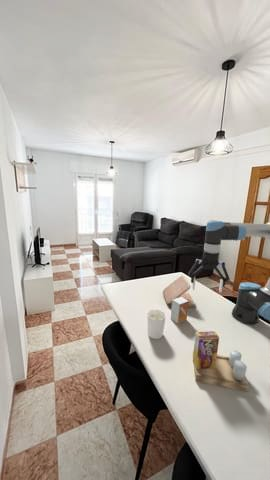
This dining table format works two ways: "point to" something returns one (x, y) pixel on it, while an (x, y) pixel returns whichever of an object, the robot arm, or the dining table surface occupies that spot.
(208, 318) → the dining table surface
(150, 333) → the white cream cup
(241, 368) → the smooth rounded lump
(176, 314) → the small box
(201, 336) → the candy box
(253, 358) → the dining table surface
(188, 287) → the case
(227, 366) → the tan tray
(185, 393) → the dining table surface
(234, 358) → the white egg
